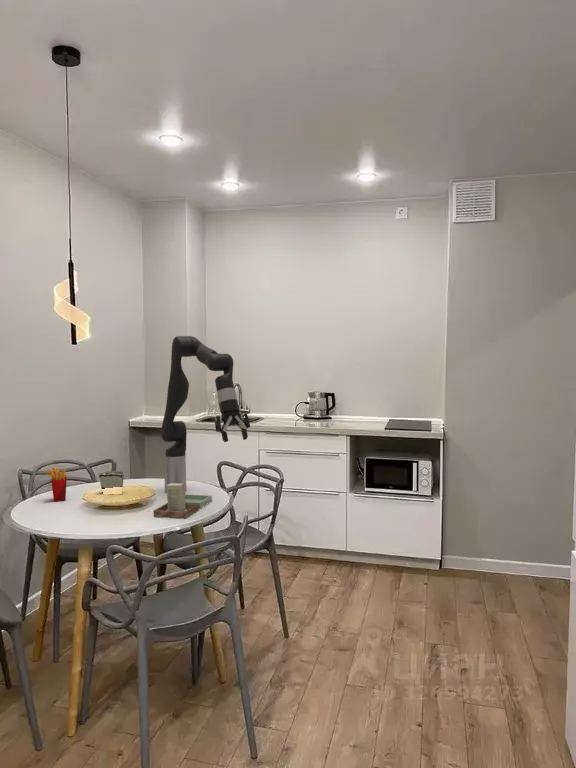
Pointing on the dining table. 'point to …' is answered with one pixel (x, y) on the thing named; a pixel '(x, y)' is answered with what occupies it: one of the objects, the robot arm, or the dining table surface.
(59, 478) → the french fries
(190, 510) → the walnut bin
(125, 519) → the dining table surface
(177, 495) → the skincare box
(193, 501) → the green tray
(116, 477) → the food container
